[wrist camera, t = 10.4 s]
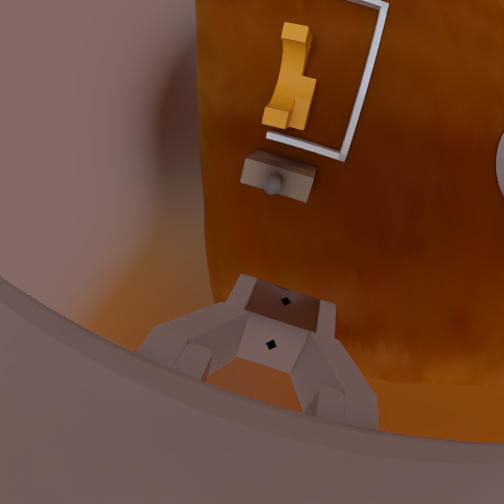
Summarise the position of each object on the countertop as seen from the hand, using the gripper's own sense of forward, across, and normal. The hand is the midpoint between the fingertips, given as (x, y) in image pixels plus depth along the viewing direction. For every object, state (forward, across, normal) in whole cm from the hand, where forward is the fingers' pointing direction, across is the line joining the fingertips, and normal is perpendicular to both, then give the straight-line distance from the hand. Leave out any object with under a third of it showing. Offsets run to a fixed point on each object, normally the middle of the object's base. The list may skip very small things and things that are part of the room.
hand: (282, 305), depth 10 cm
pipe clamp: (+34, +5, -7) cm, 35 cm away
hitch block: (+33, +4, +4) cm, 34 cm away
